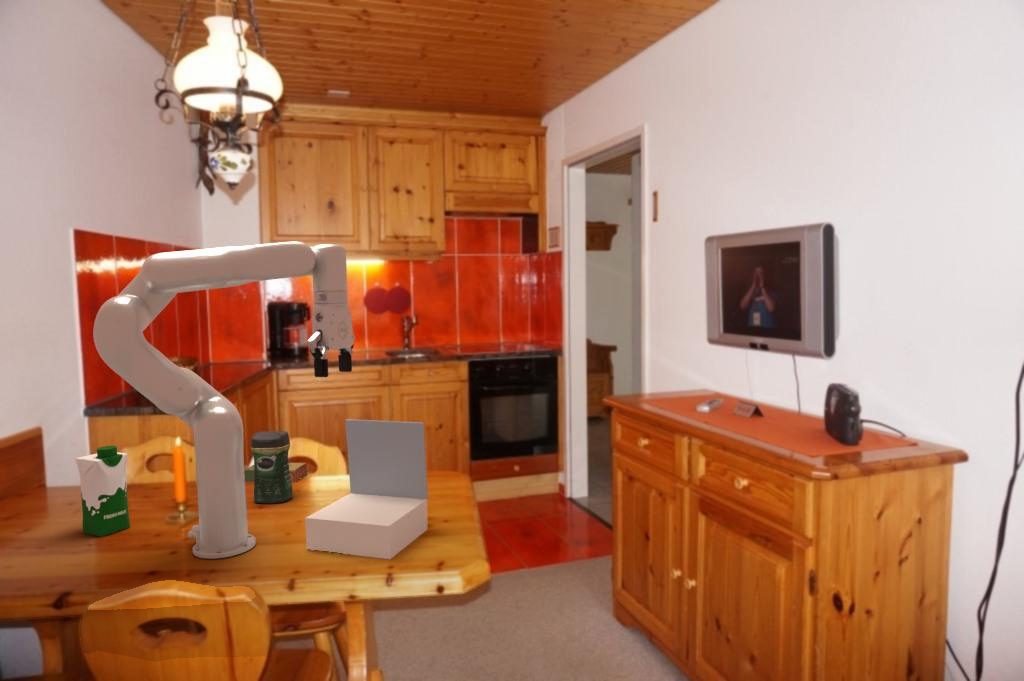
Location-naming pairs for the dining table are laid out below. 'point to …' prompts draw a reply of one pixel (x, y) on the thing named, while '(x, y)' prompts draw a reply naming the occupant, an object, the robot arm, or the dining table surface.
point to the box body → (367, 525)
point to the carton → (295, 469)
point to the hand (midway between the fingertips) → (333, 374)
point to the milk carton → (104, 491)
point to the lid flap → (387, 458)
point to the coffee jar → (271, 467)
